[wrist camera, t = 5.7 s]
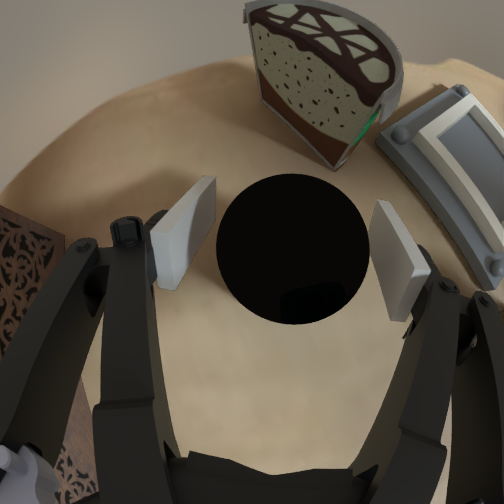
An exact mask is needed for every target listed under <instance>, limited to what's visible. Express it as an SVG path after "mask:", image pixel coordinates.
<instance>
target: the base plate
mask: <svg viewBox="0 0 504 504" xmlns="http://www.w3.org/2000/svg"><path fill="white" fill-rule="evenodd" d="M375 143H376V144H377V145H378V146H379V147H380V148H381V150H382V151H383V152H384V153H385V154H386V155H387V156H388V157H389V158H390V159H391V160H392V161H393V163H394V164H395V165H396V166H397V167H398V168H399V169H400V170H401V172H402V173H403V174H404V175H405V176H406V177H407V179H408V180H409V181H410V182H411V183H412V185H413V186H414V187H415V188H416V189H417V191H418V192H419V193H420V194H421V196H422V197H423V198H424V200H425V201H426V202H427V203H428V205H429V206H430V207H431V209H432V210H433V211H434V213H435V214H436V215H437V217H438V218H439V219H440V221H441V222H442V224H443V225H444V227H445V228H446V229H447V231H448V232H449V234H450V235H451V237H452V238H453V240H454V241H455V243H456V244H457V246H458V247H459V249H460V250H461V252H462V254H463V255H464V257H465V258H466V260H467V262H468V263H469V265H470V267H471V268H472V270H473V272H474V273H475V275H476V277H477V279H478V280H479V282H480V284H481V286H482V288H483V290H484V291H490V290H495V289H496V287H497V286H498V284H499V283H500V281H501V280H502V278H503V276H504V131H503V129H502V128H501V127H500V126H499V124H498V123H497V122H496V121H495V120H494V118H493V117H492V116H491V115H490V114H489V112H488V111H487V110H486V109H485V108H484V107H483V106H482V105H481V104H480V102H479V101H478V100H477V99H476V98H475V97H474V96H473V95H472V94H471V93H470V92H469V90H468V89H467V87H465V86H464V85H459V84H456V85H455V86H453V87H451V88H450V89H448V90H446V91H445V92H443V93H442V94H440V95H438V96H437V97H435V98H434V99H432V100H430V101H429V102H427V103H426V104H424V105H422V106H421V107H419V108H418V109H416V110H414V111H413V112H411V113H410V114H408V115H407V116H405V117H404V118H402V119H400V120H399V121H397V122H396V123H394V124H393V125H391V126H390V127H388V128H386V129H385V130H383V131H382V132H380V134H379V136H378V137H377V139H376V141H375Z"/></svg>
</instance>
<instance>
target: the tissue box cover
mask: <svg viewBox="0 0 504 504" xmlns="http://www.w3.org/2000/svg"><path fill="white" fill-rule="evenodd" d="M64 254H65V235H63V234H60V233H58V232H56V231H54V230H51V229H49V228H47V227H45V226H43V225H41V224H38V223H36V222H34V221H32V220H30V219H28V218H26V217H23V216H21V215H19V214H17V213H15V212H13V211H11V210H9V209H7V208H5V207H3V206H1V205H0V362H1V360H2V358H3V355H4V353H5V351H6V349H7V347H8V345H9V343H10V341H11V339H12V337H13V335H14V334H15V332H16V330H17V328H18V326H19V324H20V322H21V321H22V319H23V317H24V315H25V314H26V312H27V310H28V308H29V307H30V305H31V303H32V302H33V300H34V298H35V297H36V295H37V294H38V292H39V290H40V289H41V287H42V286H43V284H44V283H45V281H46V280H47V278H48V277H49V275H50V274H51V272H52V271H53V269H54V268H55V266H56V265H57V263H58V262H59V261H60V259H61V258H62V256H63V255H64ZM53 470H54V471H55V475H56V477H57V478H58V479H59V482H60V489H59V490H58V491H57V492H55V493H54V495H55V502H56V504H71V503H73V502H76V501H78V500H80V499H82V498H85V497H87V496H89V495H91V494H93V493H95V492H97V491H99V488H98V481H97V474H96V465H95V456H94V443H93V426H92V414H91V411H90V407H89V404H88V401H87V397H86V393H85V390H84V386H83V382H82V378H81V377H80V380H79V383H78V387H77V390H76V393H75V397H74V400H73V404H72V408H71V412H70V416H69V420H68V424H67V428H66V432H65V437H64V441H63V444H62V448H61V452H60V455H59V457H58V460H57V463H56V465H55V467H54V469H53Z"/></svg>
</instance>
